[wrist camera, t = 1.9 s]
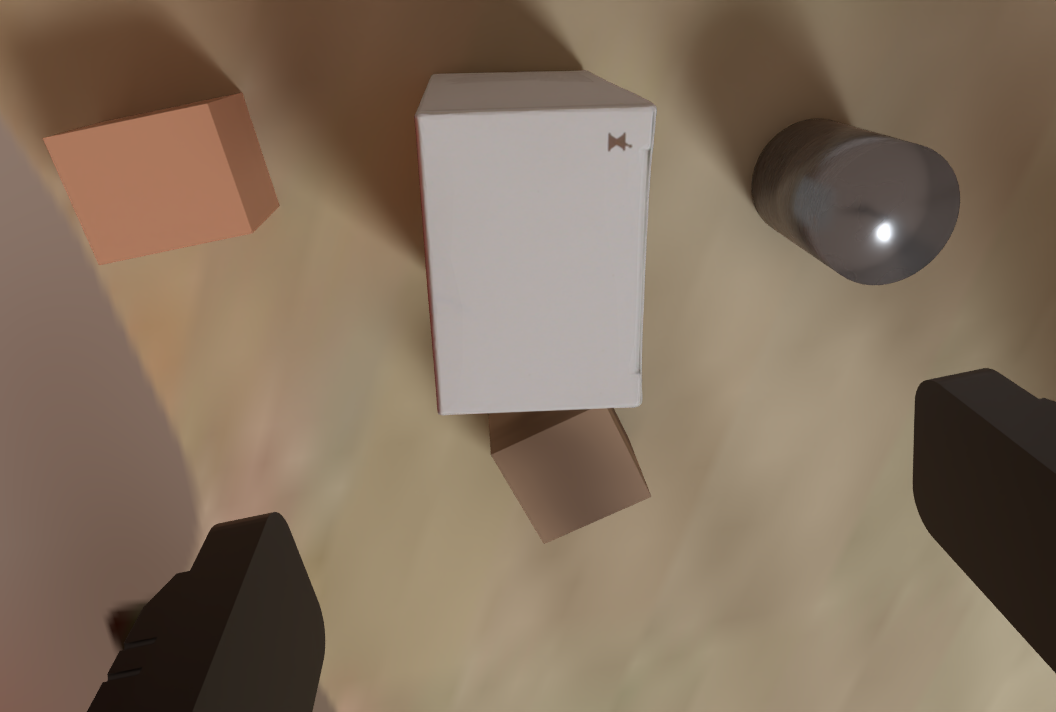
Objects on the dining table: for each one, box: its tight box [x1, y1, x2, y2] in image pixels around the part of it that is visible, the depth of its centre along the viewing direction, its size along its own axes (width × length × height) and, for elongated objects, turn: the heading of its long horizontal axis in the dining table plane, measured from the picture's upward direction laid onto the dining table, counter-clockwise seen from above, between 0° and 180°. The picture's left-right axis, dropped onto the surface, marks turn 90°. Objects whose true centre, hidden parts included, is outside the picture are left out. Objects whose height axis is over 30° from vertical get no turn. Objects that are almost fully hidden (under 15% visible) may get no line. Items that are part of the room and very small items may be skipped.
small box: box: [414, 70, 657, 415], centre depth 23 cm, size 8×6×10 cm
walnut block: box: [489, 408, 651, 544], centre depth 30 cm, size 4×4×4 cm
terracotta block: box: [43, 92, 279, 265], centre depth 25 cm, size 5×4×4 cm
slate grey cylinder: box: [752, 119, 960, 285], centre depth 26 cm, size 4×4×6 cm
